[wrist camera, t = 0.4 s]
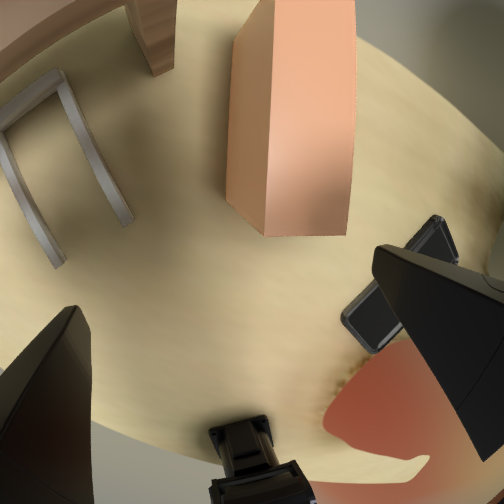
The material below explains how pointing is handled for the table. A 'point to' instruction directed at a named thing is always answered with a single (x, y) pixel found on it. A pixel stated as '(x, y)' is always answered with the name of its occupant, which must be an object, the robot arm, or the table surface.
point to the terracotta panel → (293, 117)
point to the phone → (374, 302)
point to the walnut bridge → (38, 39)
